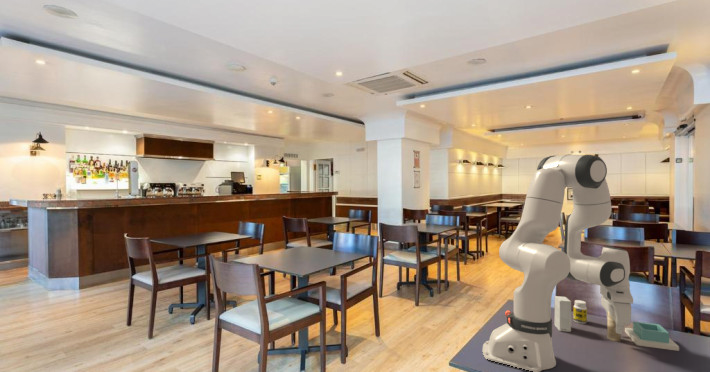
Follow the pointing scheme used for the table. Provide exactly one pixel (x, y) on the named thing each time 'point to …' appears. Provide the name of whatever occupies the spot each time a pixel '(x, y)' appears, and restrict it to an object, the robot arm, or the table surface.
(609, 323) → the maple peg
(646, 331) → the socket block
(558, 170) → the robot arm
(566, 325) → the skincare box
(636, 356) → the table surface
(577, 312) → the supplement bottle
